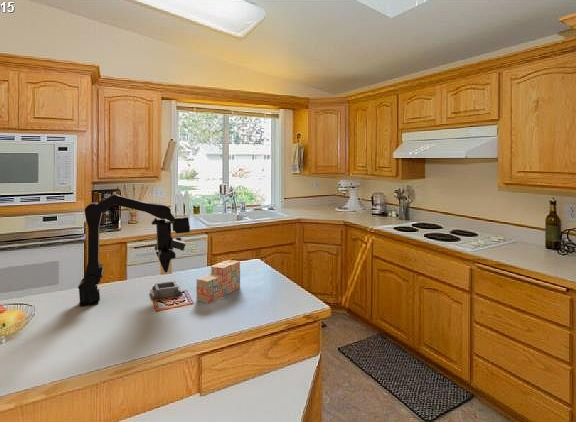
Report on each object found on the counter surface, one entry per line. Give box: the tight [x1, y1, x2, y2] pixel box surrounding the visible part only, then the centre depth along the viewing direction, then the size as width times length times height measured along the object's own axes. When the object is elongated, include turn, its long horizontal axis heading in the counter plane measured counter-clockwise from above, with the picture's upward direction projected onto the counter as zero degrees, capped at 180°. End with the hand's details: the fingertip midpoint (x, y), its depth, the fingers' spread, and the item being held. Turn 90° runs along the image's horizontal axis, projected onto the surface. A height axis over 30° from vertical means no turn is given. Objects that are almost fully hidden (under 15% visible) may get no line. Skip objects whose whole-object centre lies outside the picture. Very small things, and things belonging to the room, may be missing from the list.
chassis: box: [150, 280, 183, 300], centre depth 155 cm, size 12×10×4 cm
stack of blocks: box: [195, 259, 241, 304], centre depth 155 cm, size 21×6×12 cm, turn 151°
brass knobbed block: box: [158, 259, 173, 276], centre depth 154 cm, size 4×4×7 cm
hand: (165, 270), depth 154 cm, fingers closed on brass knobbed block, 4 cm apart
